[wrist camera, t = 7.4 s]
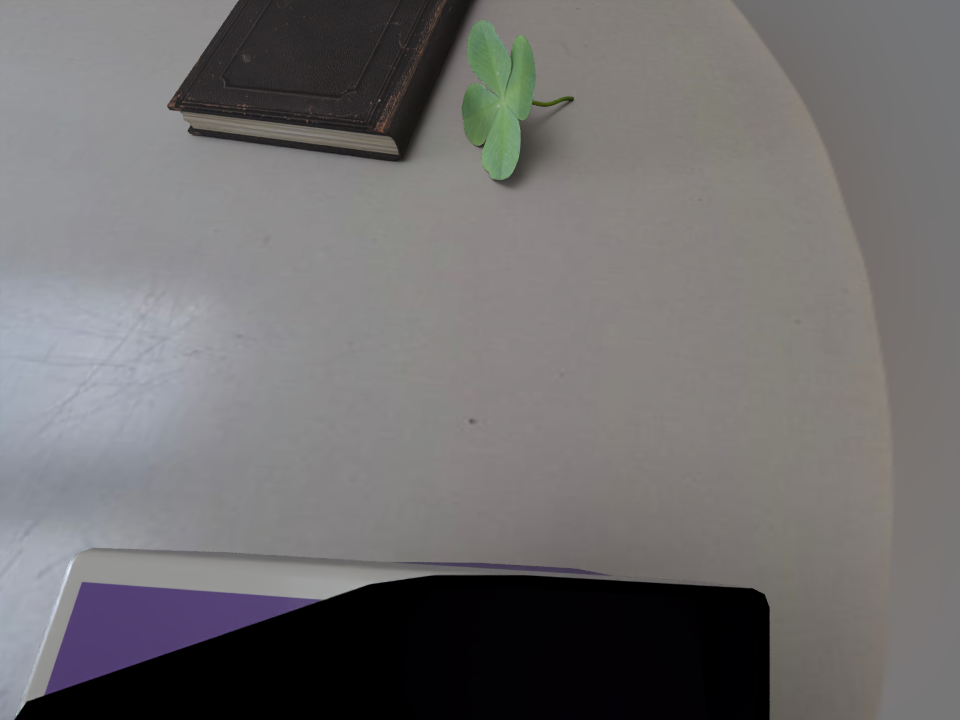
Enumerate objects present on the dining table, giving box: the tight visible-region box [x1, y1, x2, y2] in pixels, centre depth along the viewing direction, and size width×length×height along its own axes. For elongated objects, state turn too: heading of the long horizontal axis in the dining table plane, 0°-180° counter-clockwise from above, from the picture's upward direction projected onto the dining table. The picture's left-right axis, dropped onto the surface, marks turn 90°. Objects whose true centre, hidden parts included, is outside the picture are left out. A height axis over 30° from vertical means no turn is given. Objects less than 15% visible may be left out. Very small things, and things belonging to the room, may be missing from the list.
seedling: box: [462, 21, 574, 180], centre depth 28 cm, size 7×8×7 cm
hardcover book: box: [167, 0, 470, 161], centre depth 34 cm, size 16×23×2 cm
